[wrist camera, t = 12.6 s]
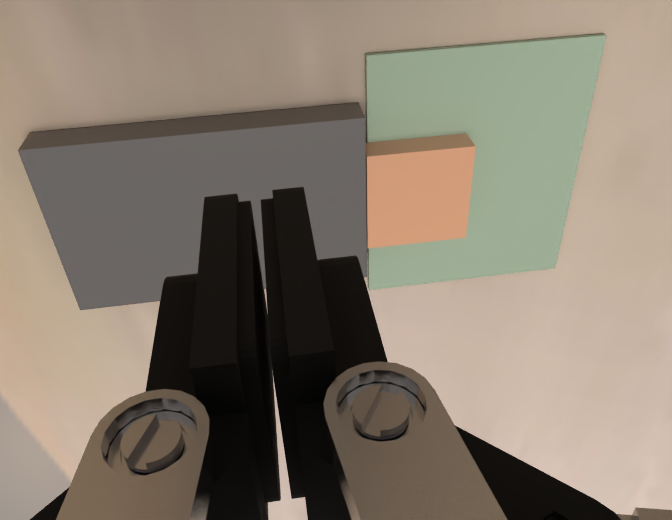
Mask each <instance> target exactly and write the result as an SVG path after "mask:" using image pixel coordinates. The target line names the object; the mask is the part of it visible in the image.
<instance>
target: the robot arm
mask: <svg viewBox="0 0 672 520" xmlns="http://www.w3.org/2000/svg"><path fill="white" fill-rule="evenodd" d="M272 193H273V198H270V199H261V214H262V230H263V245H264V261H265V277H266V292H267V307H266V300H265V294H264V287H263V280H262V273H261V266H260V259H259V252H258V246H257V239H256V232H255V225H254V218H253V211H252V205H251V201H241V202H239V199H238V195H237V194H227V195H218V196H208V197H205V198H204V206H203V218H202V229H201V240H200V252H199V263H198V273H196V274H187V275H178V276H169V277H166V278H165V279H164V283H163V288H162V294H161V300H160V306H159V312H158V319H157V325H156V331H155V337H154V343H153V349H152V356H151V362H150V368H149V374H148V380H147V387H146V392H144V393H141V394H138V395H135V396H133V397H130V398H128V399H126V400H125V401H123V402H122V403H120V404H118V405H117V406H115V407H114V408H112V409H111V410H110V411H109V412H108V413H107V414H106V415H105V416H104V417H103V418H102V419H101V420H100V422H99V423H98V425H97V427H96V428H95V430H94V432H93V433H92V435H91V437H90V439H89V442H88V444H87V447H86V449H85V451H84V454H83V456H82V459H81V461H80V463H79V466H78V468H77V471H76V473H75V475H74V478H73V480H72V483H71V485H70V487H69V488H68V489H67V490H65V491H64V492H63V493H62V494H61V495H59V496H58V497H57V498H56V499H55V500H53V501H52V502H51V503H50V504H49V505H47V506H46V507H45V508H44V509H43V510H41V511H40V512H39V513H37V514H36V515H35V516H34V517H33V518H31V519H30V520H268V502H273V501H280V499H281V496H280V479H279V464H278V449H277V434H276V418H275V403H274V388H273V377H274V383H275V390H276V397H277V403H278V410H279V417H280V423H281V430H282V437H283V443H284V450H285V457H286V463H287V470H288V477H289V483H290V490H291V496H292V499H294V498H301V497H305V499H306V507H307V515H308V520H672V510H662V509H648V508H635V510H634V512H633V514H632V515H621V514H616V513H614V512H613V511H611V510H610V509H609V508H607V507H606V506H604V505H603V504H601V503H600V502H598V501H597V500H595V499H593V498H591V497H589V496H587V495H586V494H584V493H582V492H580V491H578V490H576V489H574V488H572V487H570V486H568V485H567V484H565V483H563V482H561V481H559V480H557V479H555V478H553V477H551V476H550V475H548V474H546V473H544V472H542V471H540V470H538V469H536V468H534V467H532V466H531V465H529V464H527V463H525V462H523V461H521V460H519V459H517V458H515V457H514V456H512V455H510V454H508V453H506V452H504V451H502V450H500V449H498V448H496V447H495V446H493V445H491V444H489V443H487V442H485V441H483V440H481V439H479V438H478V437H476V436H474V435H472V434H470V433H468V432H466V431H464V430H462V429H461V428H459V427H457V426H455V425H454V424H453V422H452V420H451V418H450V416H449V415H448V413H447V411H446V409H445V407H444V406H443V404H442V402H441V400H440V399H439V397H438V395H437V393H436V391H435V390H434V388H433V387H432V386H431V385H430V383H429V382H428V381H427V380H426V378H425V377H423V376H422V375H420V374H419V373H417V372H416V371H414V370H413V369H411V368H408V367H405V366H403V365H400V364H397V363H390V362H387V358H386V355H385V351H384V347H383V344H382V340H381V337H380V333H379V330H378V326H377V323H376V319H375V316H374V312H373V309H372V305H371V301H370V298H369V294H368V291H367V287H366V284H365V280H364V277H363V273H362V270H361V266H360V263H359V260H358V257H357V256H356V255H355V256H346V257H337V258H328V259H320V260H317V255H316V250H315V245H314V239H313V234H312V229H311V223H310V218H309V213H308V207H307V202H306V197H305V191H304V187H295V188H286V189H276V190H272ZM267 308H268V314H267ZM272 369H273V373H272Z"/></svg>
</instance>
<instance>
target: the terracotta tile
mask: <svg viewBox="0 0 672 520" xmlns="http://www.w3.org/2000/svg"><path fill="white" fill-rule="evenodd" d="M475 149H476V146H475V144H474V143H473V142H472V140H471V139H470V138H469V136H468V135H467V134H466V133H463V134H453V135H442V136H431V137H421V138H410V139H400V140H389V141H379V142H368V143H365V152H366V226H367V248H377V247H386V246H395V245H404V244H413V243H422V242H431V241H440V240H449V239H459V238H466V232H467V223H468V214H469V204H470V195H471V186H472V177H473V167H474V158H475Z"/></svg>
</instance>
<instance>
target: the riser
mask: <svg viewBox="0 0 672 520" xmlns="http://www.w3.org/2000/svg"><path fill="white" fill-rule="evenodd" d="M18 152H19V155H20V157H21V160H22V162H23V165H24V167H25V170H26V173H27V175H28V178H29V180H30V183H31V185H32V188H33V190H34V193H35V196H36V198H37V201H38V203H39V206H40V208H41V211H42V213H43V216H44V219H45V221H46V224H47V226H48V229H49V231H50V234H51V236H52V239H53V242H54V244H55V247H56V249H57V252H58V254H59V257H60V260H61V262H62V265H63V267H64V270H65V272H66V275H67V277H68V280H69V283H70V285H71V288H72V290H73V293H74V295H75V298H76V300H77V303H78V306H79V308H80V310H86V309H94V308H103V307H111V306H120V305H129V304H137V303H146V302H154V301H160V300H161V294H162V288H163V283H164V279H165V278H166V277H169V276H178V275H187V274H196V273H198V263H199V252H200V240H201V229H202V218H203V206H204V198H205V197H208V196H218V195H227V194H237V195H238V199H239V202H241V201H251V205H252V211H253V218H254V225H255V232H256V239H257V246H258V252H259V259H260V266H261V273H262V280H263V287H264V289H266V277H265V261H264V245H263V230H262V214H261V199H270V198H273V193H272V190H276V189H286V188H295V187H304V191H305V197H306V202H307V207H308V213H309V218H310V223H311V229H312V234H313V239H314V245H315V250H316V255H317V260H320V259H328V258H337V257H346V256H355V255H356V256H357V257H358V260H359V263H360V266H361V270H362V273H363V277H367V226H366V152H365V117H364V114H363V112H362V110H361V108H360V105H359V103H358V102H357V103H346V104H335V105H324V106H313V107H302V108H292V109H281V110H270V111H259V112H248V113H237V114H226V115H215V116H204V117H193V118H182V119H171V120H160V121H149V122H139V123H128V124H117V125H106V126H95V127H84V128H73V129H62V130H51V131H40V132H30V133H29V135H28V136H27V138H26V139H25V141H24V142H23V144H22V145H21V147H20V148H19V150H18Z"/></svg>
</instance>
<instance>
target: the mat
mask: <svg viewBox="0 0 672 520" xmlns="http://www.w3.org/2000/svg"><path fill="white" fill-rule="evenodd" d="M605 40H606V35H605V34H591V35H579V36H567V37H556V38H544V39H532V40H520V41H508V42H497V43H485V44H473V45H461V46H449V47H438V48H426V49H414V50H402V51H390V52H378V53H367V54H365V61H366V142H367V143H368V142H379V141H389V140H400V139H410V138H421V137H431V136H442V135H453V134H463V133H466V134H467V135H468V136H469V138H470V139H471V140H472V142H473V143H474V144H475V146H476V149H475V158H474V167H473V177H472V186H471V195H470V204H469V214H468V223H467V232H466V238H459V239H449V240H440V241H431V242H422V243H413V244H404V245H395V246H386V247H377V248H368V288H369V290H375V289H383V288H392V287H400V286H409V285H417V284H426V283H434V282H443V281H451V280H459V279H468V278H476V277H485V276H493V275H502V274H510V273H519V272H527V271H536V270H544V269H552V268H555V267H556V262H557V258H558V253H559V249H560V244H561V239H562V235H563V230H564V226H565V221H566V217H567V212H568V208H569V203H570V199H571V194H572V190H573V185H574V180H575V176H576V171H577V167H578V162H579V158H580V153H581V149H582V144H583V140H584V135H585V131H586V126H587V121H588V117H589V112H590V108H591V103H592V99H593V94H594V90H595V85H596V81H597V76H598V72H599V67H600V62H601V58H602V53H603V49H604V44H605Z"/></svg>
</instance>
